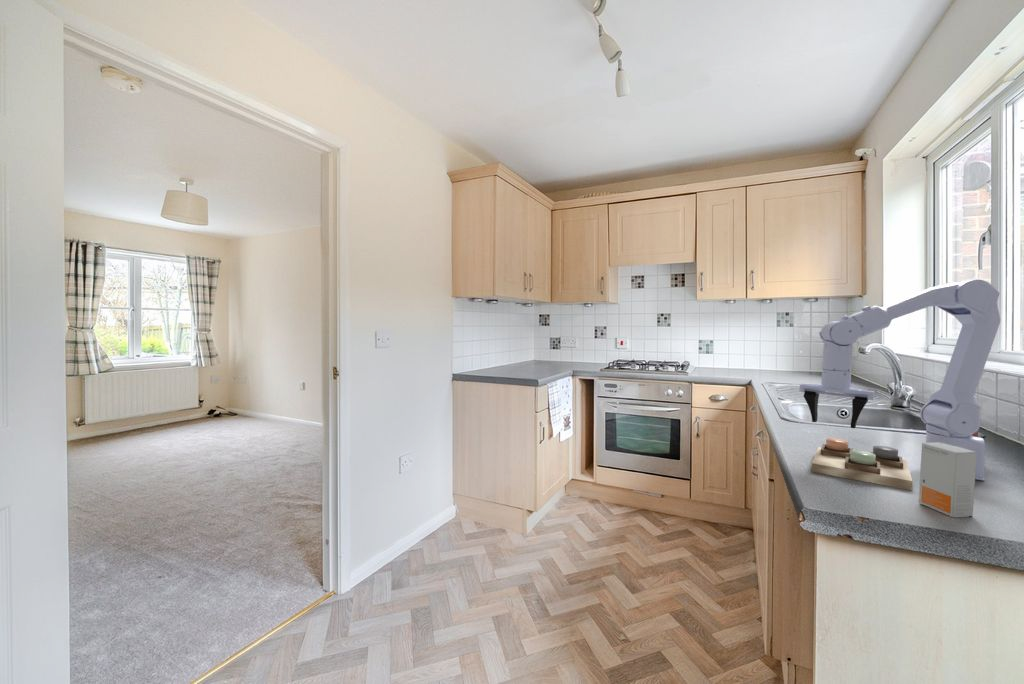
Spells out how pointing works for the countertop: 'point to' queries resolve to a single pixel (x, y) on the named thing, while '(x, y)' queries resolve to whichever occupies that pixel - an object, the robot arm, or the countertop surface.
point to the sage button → (862, 457)
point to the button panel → (862, 468)
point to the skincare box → (947, 479)
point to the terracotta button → (836, 444)
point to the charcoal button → (885, 452)
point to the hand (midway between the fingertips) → (833, 424)
